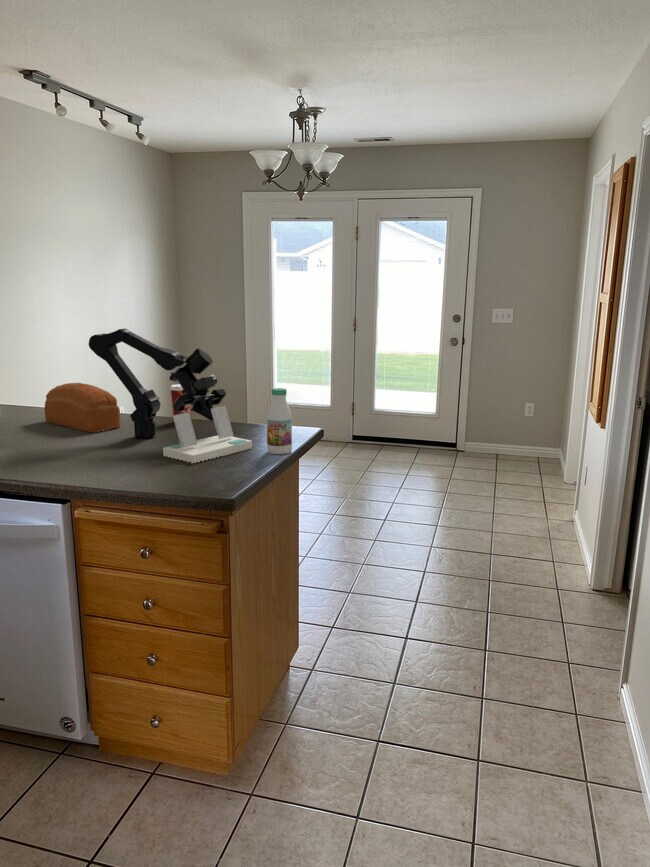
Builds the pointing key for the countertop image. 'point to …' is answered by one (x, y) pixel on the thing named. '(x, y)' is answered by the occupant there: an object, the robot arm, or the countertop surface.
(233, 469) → the countertop surface
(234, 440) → the switch panel
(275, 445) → the milk bottle
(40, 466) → the countertop surface
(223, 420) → the right lever
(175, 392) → the paper cup
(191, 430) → the left lever
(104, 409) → the bread
